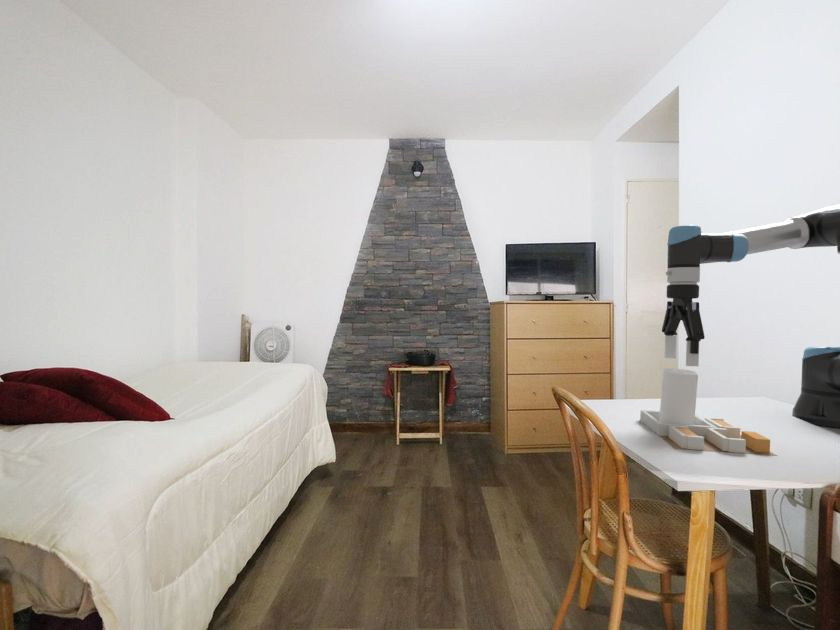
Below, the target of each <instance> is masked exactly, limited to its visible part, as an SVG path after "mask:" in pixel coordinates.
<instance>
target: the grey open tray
mask: <svg viewBox="0 0 840 630" xmlns="http://www.w3.org/2000/svg"><path fill="white" fill-rule="evenodd" d="M706 440H708V441H709V442H711V443H712V444H714V445H715V446H717V447H718V448H720V449H721V450H723V451H729V452H740V453H739V454H741V453H745V449H746V440H745V439H738V438H727V429H725V428H707V438H706Z"/></svg>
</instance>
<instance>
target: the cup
mask: <svg viewBox="0 0 840 630" xmlns="http://www.w3.org/2000/svg"><path fill="white" fill-rule="evenodd" d="M661 380H662V383H661V394H660V395H661V396H660V407H659V411H660V418H659V422H661V423H666V424H683V425H694V420H695V415H696V408H697V407H696V405H697V391H698V384H699V383H698V380H699V372H698V371H694V370H689V369H684V368H674V367H673V368H672V367H666V368H663V370H662V379H661Z"/></svg>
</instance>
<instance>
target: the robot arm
mask: <svg viewBox="0 0 840 630" xmlns="http://www.w3.org/2000/svg"><path fill="white" fill-rule="evenodd" d="M817 247H818V248H819V247H820V248H821V247H822V248H823V247H824V248H826V247H836V248H837V254H839V255H840V204H836V205H835V204H834V205H831V206H826V207H824V208H821V209H817V210H814V211H812V212H807V213H805V214H801V215H800V214H799V215H797V216H792V217H789V218H786V220H784V222H783V221H782V222H778V223H771V224H767V225H766V224H765V225H762V226H757V227H755V226H754V227H751V228H744V229H741V230H735V231H729V232H724V233H702V227H701V226H700V225H695V224H688V225H678V226H673V227H671V228H669V230H668V238H667V271H666V272H665V275H666V277H667V278H666V282H667V283H668V285H667V286H666V298H667V299H672V300H669V301H667V302H666V310H665V315H664V319H663V324H662V328H661V332H662V333H664V335H665V337H664V358H665V359H676V358H677V336H678V333H677V330H678V328H679V325H680V323H681V321H682V324H683V326H684V330H685V332H686V336H687V337H686V339H685V341H686V345H685V346H686V348H685V350H686V351H685V366H686V367H699V364H700V363H699V359H700V357H699V356H700V342H701V340H705V338H706V337H705V332H704V325H703V323H702V317H701V313H700V303H699V301H695V302H694V301H693V300H694V299H698V298H700V297H699V296H700V285H699V284H698V283H700V280H701V279H700V277H701V276H700V275H701V265H702V264H703V265H704V264H711V263H713V264H714V263H723V262H724V263H733V262H735V263H736V262H740V261H742V260H744V259H745V257H747V255H751V254H752V255H753V254H758V253H763V252H768V251H769V252H770V251H774V250H775V251H776V250H780V249H785V248H789V249H793V250H799V249H804V248H805V249H806V248H817ZM700 264H701V265H700ZM801 359H802V360H801V361H802V362H801V382H800V383H801V388H800V390H801V391H800V394H799V396H798V398H797V400H796V402H795V404H794V407H793V408H792V414H791V417H794V418H796V419H798V420H802V422H803V421H804V422H805V423H809V424H812V425H813V424H814V425H818V426H822V427H829V428H837V429H840V346H809V347H807V348H805V349H804V351H803V355H802V358H801Z"/></svg>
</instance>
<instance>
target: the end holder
mask: <svg viewBox="0 0 840 630" xmlns="http://www.w3.org/2000/svg"><path fill="white" fill-rule="evenodd" d="M659 418H660V410H647V409H640V418H639V421H640V422H642V423H643V424H646V425H645V426H647V427H648V428H649V429H650V430H651V429H652V430H651V431H653V432H654V433H655V434H656V435H657V434H658V435H657V436H659V435H660V436H669V426H672V425H673V426H687V427H689V430H690V431H692V432H693V433H695V434H696V435H698V436H702V437H704V438H707V428H718V427H716V426H714V425H713V424H711V423H709V422H707V421H706V420H705V418H702V417H700V416H699V415H697V414H695V420H694V425H683V424H666V423H661V422H659ZM660 436H659V437H660Z"/></svg>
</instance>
